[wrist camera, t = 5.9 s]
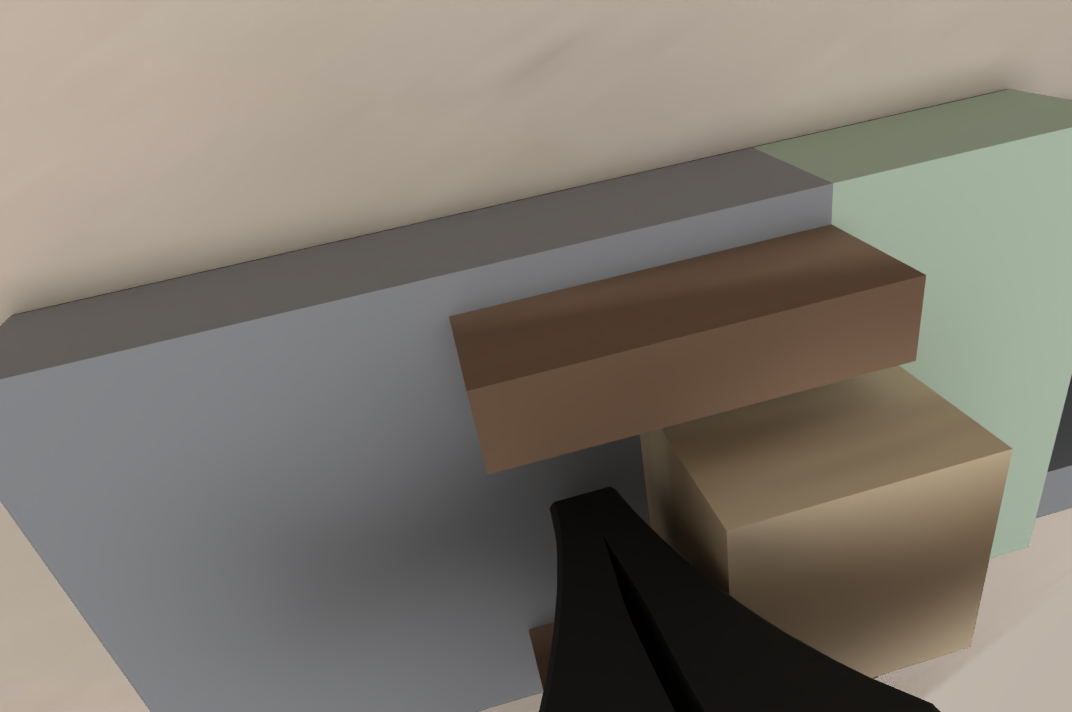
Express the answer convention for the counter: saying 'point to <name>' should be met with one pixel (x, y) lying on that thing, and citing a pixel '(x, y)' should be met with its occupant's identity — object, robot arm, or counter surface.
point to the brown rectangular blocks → (681, 346)
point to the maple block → (839, 514)
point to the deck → (446, 418)
